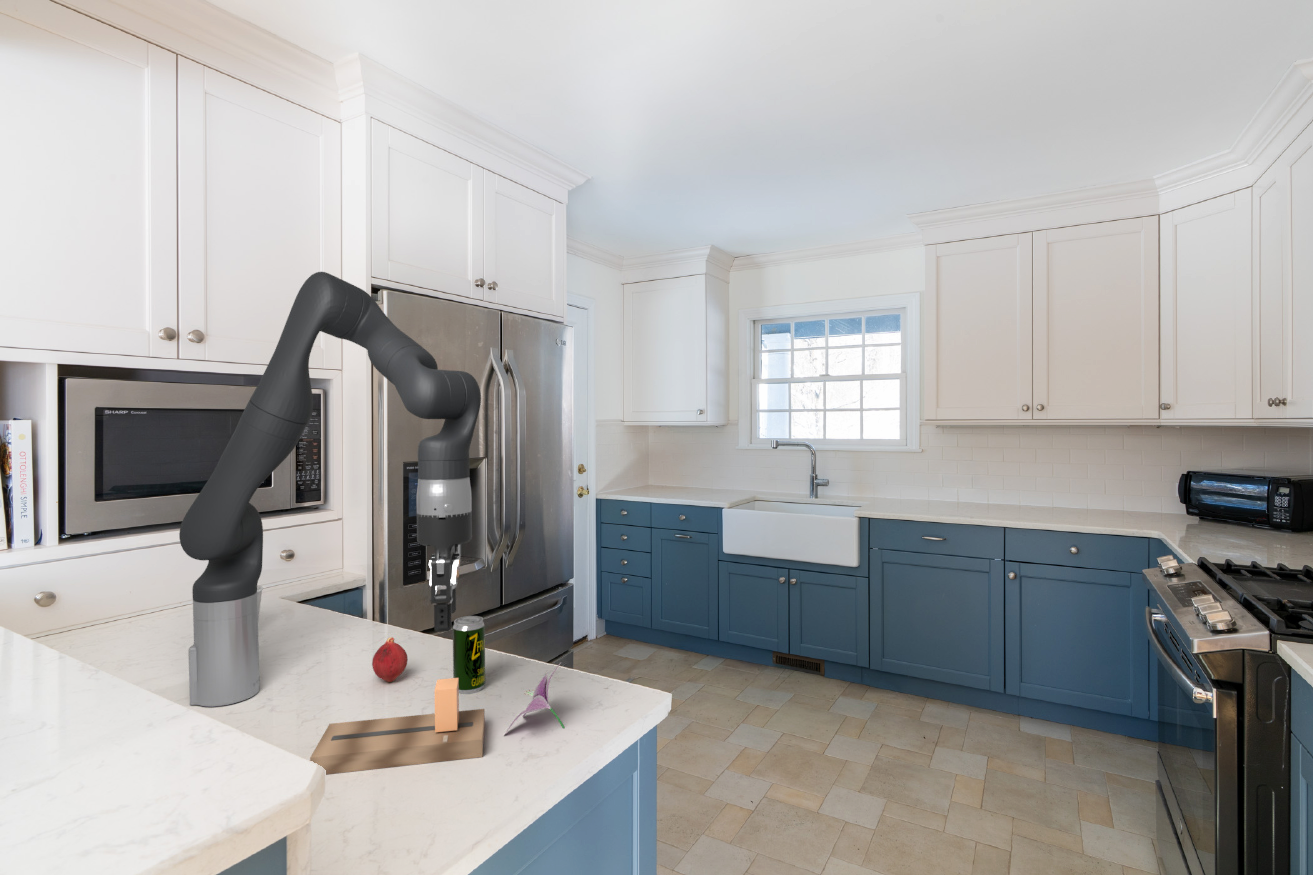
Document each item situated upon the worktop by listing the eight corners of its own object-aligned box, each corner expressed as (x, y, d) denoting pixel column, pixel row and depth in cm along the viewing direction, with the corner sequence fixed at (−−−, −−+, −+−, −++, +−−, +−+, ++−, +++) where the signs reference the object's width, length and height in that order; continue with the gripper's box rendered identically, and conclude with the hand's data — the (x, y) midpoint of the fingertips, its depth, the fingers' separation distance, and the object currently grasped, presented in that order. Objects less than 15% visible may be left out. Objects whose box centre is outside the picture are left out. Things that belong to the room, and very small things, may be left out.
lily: (557, 709, 111) (528, 660, 110) (604, 699, 104) (572, 647, 103) (508, 761, 101) (475, 708, 101) (555, 755, 94) (521, 697, 94)
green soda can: (447, 692, 115) (446, 623, 115) (465, 680, 120) (464, 614, 120) (474, 696, 114) (473, 626, 113) (491, 683, 119) (490, 616, 118)
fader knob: (435, 732, 95) (434, 690, 94) (437, 719, 99) (437, 679, 98) (457, 729, 95) (456, 688, 95) (459, 717, 99) (458, 677, 99)
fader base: (310, 776, 88) (310, 756, 88) (329, 740, 98) (329, 722, 98) (482, 756, 93) (482, 738, 93) (484, 724, 103) (484, 707, 103)
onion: (395, 689, 116) (394, 644, 116) (365, 687, 117) (364, 642, 117) (413, 677, 122) (413, 633, 122) (385, 674, 123) (384, 631, 123)
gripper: (423, 503, 102) (424, 609, 103) (409, 517, 88) (411, 639, 89) (474, 502, 104) (475, 606, 104) (468, 515, 90) (470, 635, 90)
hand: (445, 621), depth 96 cm, fingers open, 8 cm apart
